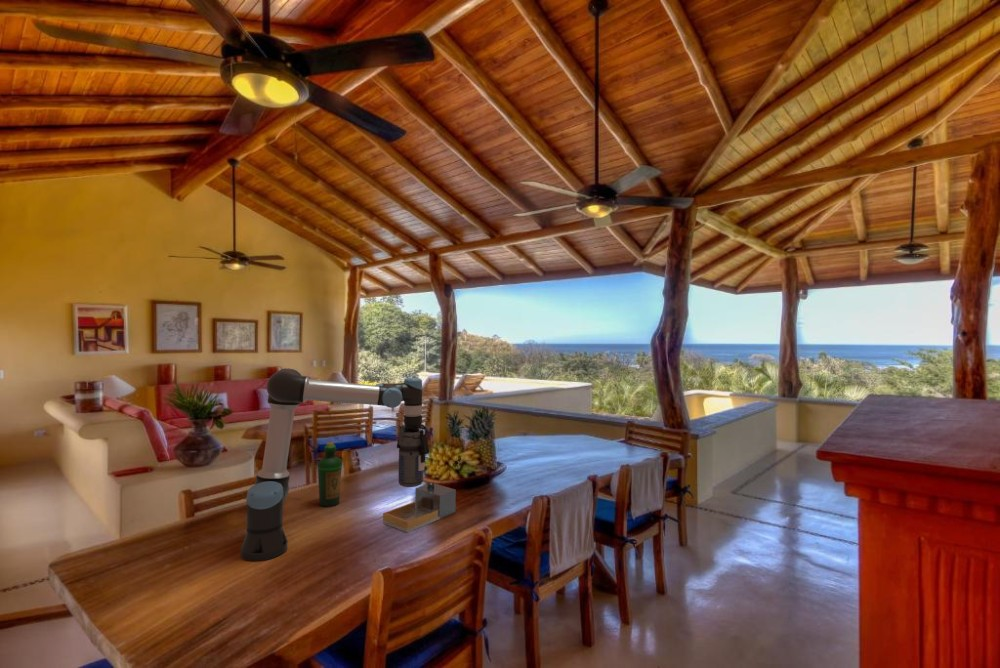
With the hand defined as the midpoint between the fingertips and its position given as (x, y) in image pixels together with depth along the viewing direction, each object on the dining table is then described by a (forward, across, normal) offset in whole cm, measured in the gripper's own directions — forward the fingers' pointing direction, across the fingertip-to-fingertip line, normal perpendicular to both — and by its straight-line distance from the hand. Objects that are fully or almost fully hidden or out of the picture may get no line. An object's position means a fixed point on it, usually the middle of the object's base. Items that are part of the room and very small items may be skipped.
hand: (412, 467), depth 201 cm
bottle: (+23, +44, +10) cm, 51 cm away
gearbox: (+22, 0, -5) cm, 23 cm away
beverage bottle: (+7, 0, 0) cm, 7 cm away
